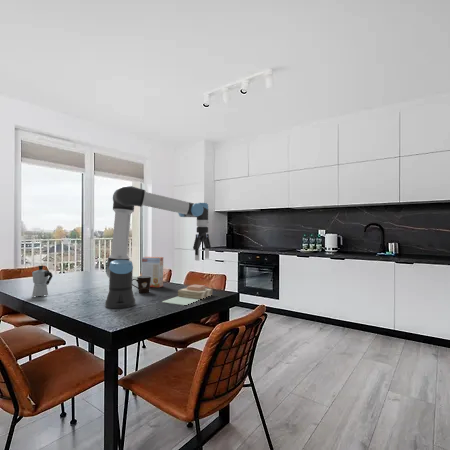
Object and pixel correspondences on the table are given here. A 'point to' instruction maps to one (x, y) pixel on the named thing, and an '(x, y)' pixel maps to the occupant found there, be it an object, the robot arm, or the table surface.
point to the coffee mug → (143, 283)
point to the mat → (180, 300)
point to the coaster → (196, 287)
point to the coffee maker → (41, 281)
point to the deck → (195, 293)
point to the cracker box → (153, 270)
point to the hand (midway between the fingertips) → (202, 259)
